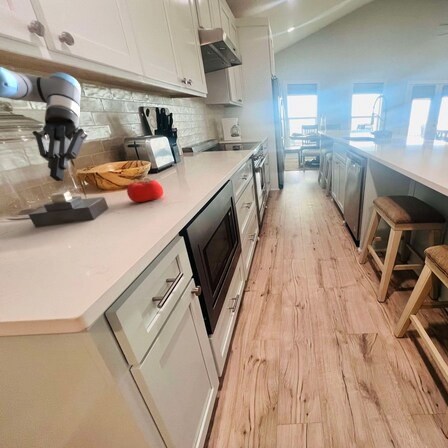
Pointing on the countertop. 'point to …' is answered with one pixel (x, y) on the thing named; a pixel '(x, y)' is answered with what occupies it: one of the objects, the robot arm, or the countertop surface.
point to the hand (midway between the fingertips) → (56, 178)
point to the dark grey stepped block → (69, 211)
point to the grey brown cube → (61, 197)
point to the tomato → (144, 191)
